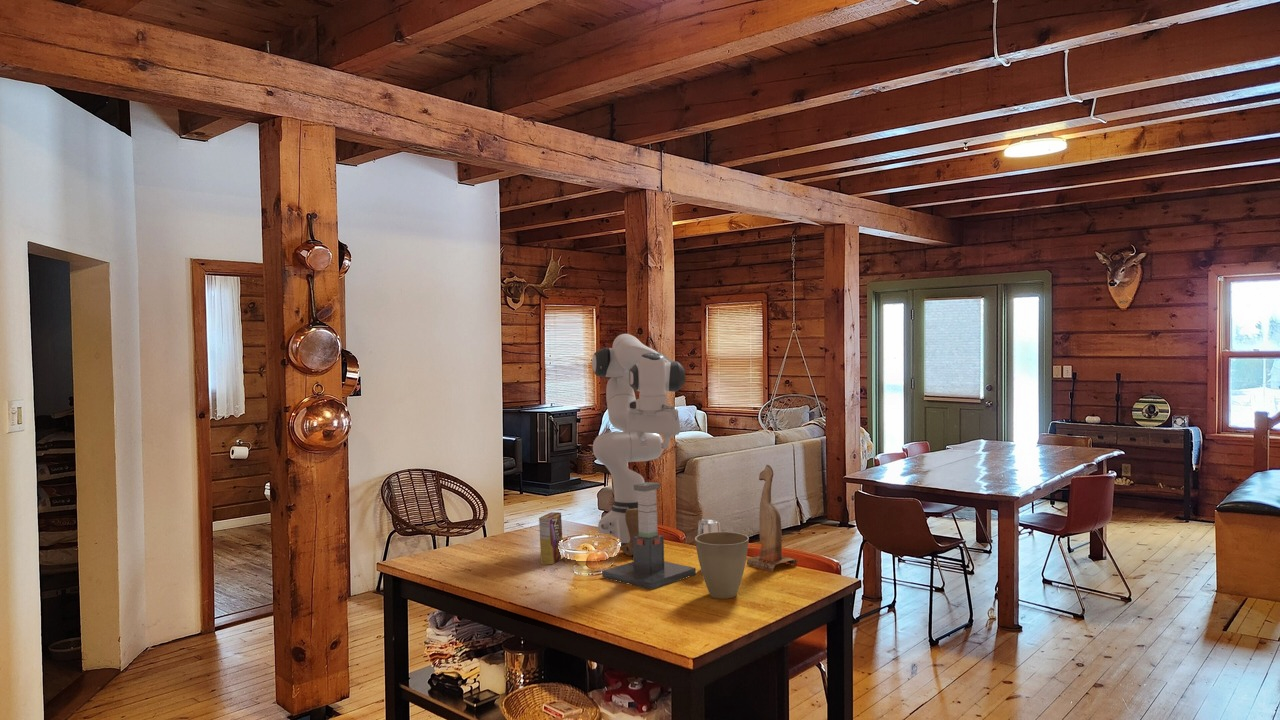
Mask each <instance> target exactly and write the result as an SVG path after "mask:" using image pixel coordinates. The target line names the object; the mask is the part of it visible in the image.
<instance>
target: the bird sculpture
mask: <svg viewBox="0 0 1280 720" xmlns="http://www.w3.org/2000/svg"><path fill="white" fill-rule="evenodd" d="M773 478H774V470H773V467H772V466H770V465H769V464H766V465H765V468H764V470H762V471H760V473H759V477H758V479H759V481H765V482H764V485H763V488H762V491H761V497H760V503H759V514H758V515H759V516H758V517H759V518H758V519H759V541H760V545H761V547H760V551H759V555H758V556H753V557H749V558H747V559H746V565H747V566H750V567H755V568H757V569H761V570H766V571H767V572H771V571H772V572H774V568H775V567H776V565H779V564H782V563H786V564H790V565H794V566H798V561H797V559H795V558H792V557H788V556H787V557H786V556H783V554H782V553H783V549H782V547H783V546H782V545H783V544H782V543H783V542H782V541H783V540H782V539H783V534H782V532H783V531H782V530H783V529H782V518H781V514H780V513H779V511H778V509H777V508H776V506H775V505H774V504H773V502H772V484H773ZM772 572H771V573H772Z"/></svg>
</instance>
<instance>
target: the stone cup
mask: <svg viewBox="0 0 1280 720" xmlns="http://www.w3.org/2000/svg"><path fill="white" fill-rule="evenodd" d="M625 520H626V524H627V527H628V531H629V535H630V542H629V543H626V544H625V545H622V546H621V547H620V550H621V551H622V552H623V553H624V554H625V555H626V556H633V537H635V536H639V524H638V508H634V509H627V510H626V513H625Z"/></svg>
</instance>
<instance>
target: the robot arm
mask: <svg viewBox="0 0 1280 720" xmlns="http://www.w3.org/2000/svg"><path fill="white" fill-rule="evenodd" d="M591 367H592V368H591V369H592V371H593V373H594V374H595V376H597V377H600V378H610V379H608V381H607V383H606V392H605V393H606V394H605V398H606V405H607V406H606V408H607V413H608V420H609V422H610V424H611V425H612V426H613V427H614V428H615V429H618V430H620V431H617V432H616V431H615V432H614V431H613V432H606V433H603V434H599V435H597V436H596V437H595V439H594V441H593V444H592V453H593V455H594V457H595V458H596V460H597V461H599V462H600V463H602V465H604V466H605V467H606V469H607V470H608V472H609V473H610V475H611V477H612V483H613V493H614V494H613V495H614V498H613V499H614V500H613V501H609V502H608V503H609V504H608V505H609V506H611V508H610V511H608V512H607V513H606V514H605V515H604V516H602V517H601V519H599V521H598V526H597V529H598V530H597V532H598V533H604V534H609V535H612V536H614V537H617V538H619V539H620V540H621V541H622V543H621V544H628V543H629V542H630V535H629V531H628V527H627V524H626V520H625V513H626V510H627V509H634V508H638V491H636V490H634V485H636V484H641V483H646V482H645V478H644V477H643V476H642V475H641V474H640V473H638V472H636V471H634V470H632V469H630V468H629V467H628V463H632V462H633V463H634V462H648V461H653V460H656V459H659V458H660V457H661V456H662V454H663V452H664V450H667V449H668V448H669V443H670V440H671V439H672V436H678V435H679V434H680V432H681V424H680V417H679V410H678V409H677V407H675V406H674V405H668V404H667V403H668V397H667V395H668V394H667V392H676V393H678V391H680V390H681V389H682V388H683V387H684V385H685V384H686V379H687V377H686V371H685V368H684V367H683V365H682V364H681V363H680V362H678V361H677V360H676V361H672V360H671V359H670V358H668V356H666V355H665V354H663V353H661V352H660V351H657V350H656V349H653V348H651V347H649V346H647V345H646V344H644V343H642V342H641V340H639V339H638V338H637V337H636V336H634V335H633V334H630V333H621V334H619V335H618V336H616V337H615V339H614V340H613V342H612V347H609V348H608V347H606V346H605V347H603V348H602V349H598V350H597V351H595V352H594V353H593V356H592V358H591ZM635 392H639V394H638V398H637V399H636V393H635ZM661 435H662V436H661ZM663 439H664V440H663Z"/></svg>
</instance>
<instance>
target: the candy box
mask: <svg viewBox="0 0 1280 720" xmlns="http://www.w3.org/2000/svg"><path fill="white" fill-rule="evenodd" d="M538 523H539V524H538V525H539V541H540V542H539V543H540V544H539V545H540V547H539V548H540V549H539V550H540V564H542V565H548V564H552V565H554V564H556V563H558V562H559V561H561V560H562V559H561V555H560V552H559V549H558V543H559V541H561V540H563V525H562V523H563V522H562V512H558V511H557V512H554V511H553V512H552V511H551V512H548V513H547V514H545V515H542V516H541V517H538Z"/></svg>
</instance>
